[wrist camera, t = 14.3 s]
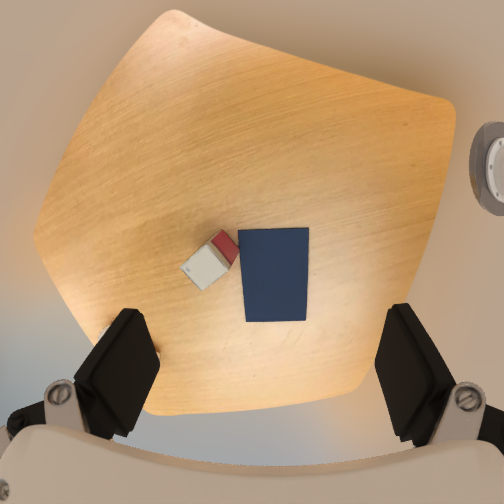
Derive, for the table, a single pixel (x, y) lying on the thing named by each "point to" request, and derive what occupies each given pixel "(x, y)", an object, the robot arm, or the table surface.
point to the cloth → (274, 273)
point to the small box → (211, 260)
